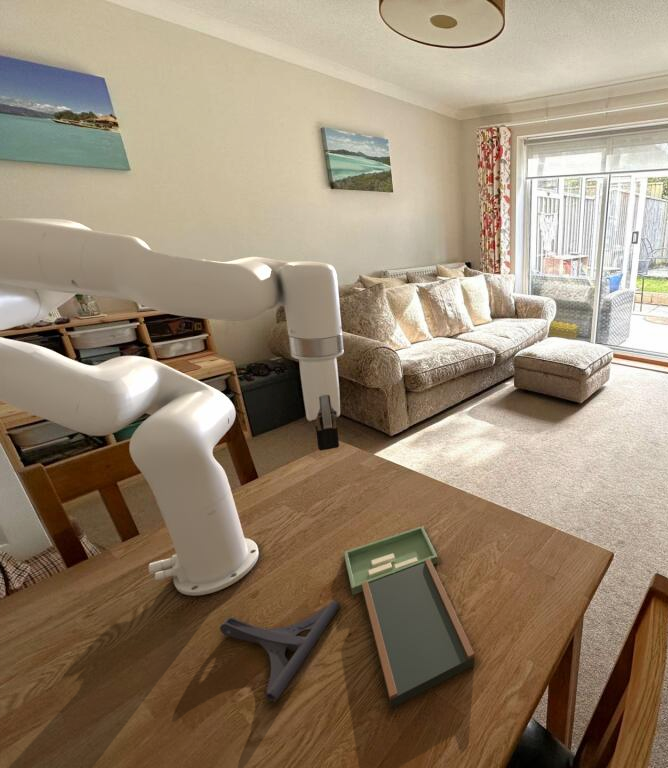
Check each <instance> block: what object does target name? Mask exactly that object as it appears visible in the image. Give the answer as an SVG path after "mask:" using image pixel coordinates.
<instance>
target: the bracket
mask: <svg viewBox="0 0 668 768" xmlns="http://www.w3.org/2000/svg"><path fill="white" fill-rule="evenodd" d="M340 606H341V604H340V603H339V602H338V601H337V600H331V601H330V602H329V604H328V605H326V606H324V607H323V608H321V609H320V610H318V611H317V612H315V613H314V614H312V615H311V616H309V617H307V618H305V619H303V620H301V621H298V622H296V623H293V624H290V625H288V626H287V625H286V626H283V627H277V628H261V627H258V626H255V625H252V624H250V623H247V622H244V621H243V620H239V619H237V618H236V617H233V616H230V617H228V618H227V619H225V621H224V622H223V623H222V624H221V625H220V627H219V630H220V632H221V633H222V634H223V635H224V636H226V637H229V638H233V639H237V640H242V641H245V642H251V643H255V644H258V645H259V646H261V647H262V648H263V649H264V650H265V652H266V653H267V655H268V657H269V662H270V675H269V679H268V683H267V688H266V691H265V693H266V694H265V698H266V699H267V700H268V701H269V702H273V703H275V702H277V701H278V700H279V698H280V696H281V695H282V693H283V692H284V690H286V688H287V686H288V685H289V683H290V681H292V678H293V677H294V676H295V674H296V673H297V671H298V670H299V668H300V666H301V665H302V664H303V663H304V661H305V659H306V658H307V656H308V655H309V653H310V651H312V649H313V647H314V646H315V644H316V643H317V641H318V640H319V638H320V637H321V635H322V634H323V632H324V631H325V630H326V628H327V626H328V624H329V623H330V622H331V620H332V619H333V618H334V616H335V614H336V613H337V611H338V610H339V609H340ZM308 631H309V632H308ZM305 632H308V634H307V635H306V636H299V635H300V634H302V633H305ZM286 651H290V652H294V654H292V657H290V659H288V658H287V657H286Z"/></svg>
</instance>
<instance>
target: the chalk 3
mask: <svg viewBox="0 0 668 768" xmlns="http://www.w3.org/2000/svg"><path fill="white" fill-rule="evenodd" d="M414 562H417V558H416V557H415V558H412V559H409V560H407V561H404V562H401V563H398V564H395V565H394V566H395V569H398V568H401V567H403V566H406V565H409V564H412V563H414Z"/></svg>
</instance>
